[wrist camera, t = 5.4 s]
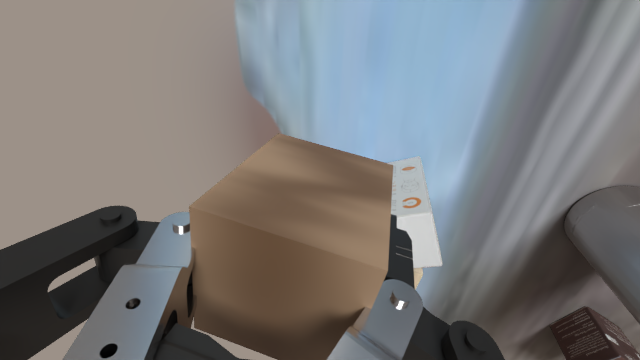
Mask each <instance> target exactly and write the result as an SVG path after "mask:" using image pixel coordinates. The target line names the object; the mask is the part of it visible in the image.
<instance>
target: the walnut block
mask: <svg viewBox="0 0 640 360" xmlns="http://www.w3.org/2000/svg"><path fill="white" fill-rule="evenodd" d="M392 180H393V165H391V164H387V163H384V162H380V161H376V160H373V159H369V158H366V157H362V156H358V155H355V154H351V153H348V152H344V151H340V150H337V149H333V148H330V147H326V146H322V145H319V144H315V143H312V142H308V141H305V140H301V139H297V138H294V137H290V136H287V135H283V134H279V133H278V134H277V135H276V136H274V137H273V138H272V139H271V140H269V141H268V142H267V143H266V144H265V145H264V146H262V147H261V148H260V149H259V150H257V151H256V152H255V153H254V154H253V155H251V156H250V157H249V158H248V159H246V160H245V161H244V162H243V163H241V164H240V165H239V166H238V167H237V168H236V169H234V170H233V171H232V172H230V173H229V174H228V175H227V176H226V177H225V178H223V179H222V180H221V181H220V182H218V183H217V184H216V185H215V186H214V187H212V188H211V189H210V190H209V191H207V192H206V193H205V194H204V195H202V196H201V197H200V198H199V199H198V200H196V201H195V202H194V203H193V204H192V205H190V206H189V214H190V237H191V247H193V248H195V259H196V260H195V263H194V266H193V269H192V282H193V295H196V296H197V307H196V311H195V314H194V327H195V328H196V329H199V330H202V331H204V332H207V333H209V334H212V335H215V336H217V337H220V338H223V339H225V340H228V341H230V342H233V343H235V344H238V345H241V346H243V347H246V348H249V349H251V350H254V351H256V352H259V353H262V354H264V355H267V356H270V357H272V358H275V359H277V360H327V358H328V357H329V356H330V354H331V353H332V351H333V350H334V348H335V347H336V345H337V344H338V342H339V341H340V339H341V338H342V336H343V335H344V333H345V332H346V330H347V329H348V328H349V327H350V326H353V325H354V324H355V322H356V321H357V319H358V318H359V316H360V315H361V313H362V311H363V310H364V308H365V307H368V308H370V309H372V306H373V304H374V302H375V300H376V297H377V295H378V293H379V290H380V288H381V286H382V283H383V281H384V279H385V277H386V274H387V272H388V260H389V240H390V220H391V200H392Z"/></svg>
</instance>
